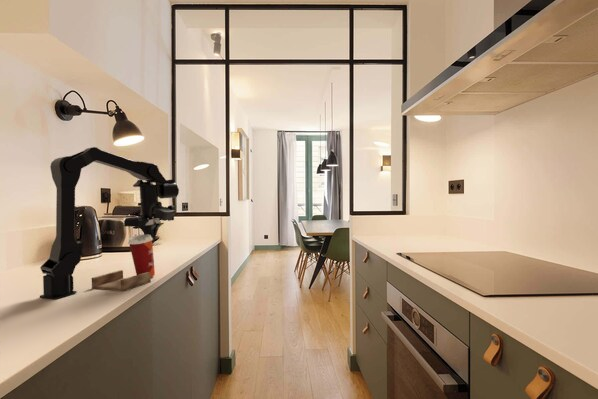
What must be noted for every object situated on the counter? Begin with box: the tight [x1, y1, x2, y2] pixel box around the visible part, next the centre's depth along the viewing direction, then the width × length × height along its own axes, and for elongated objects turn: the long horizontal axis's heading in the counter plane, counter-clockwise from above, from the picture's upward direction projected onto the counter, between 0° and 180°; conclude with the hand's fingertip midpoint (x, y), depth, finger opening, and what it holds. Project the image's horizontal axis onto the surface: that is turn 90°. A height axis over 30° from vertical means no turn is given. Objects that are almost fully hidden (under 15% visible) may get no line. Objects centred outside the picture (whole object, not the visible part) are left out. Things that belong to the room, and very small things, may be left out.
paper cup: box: [127, 233, 156, 279], centre depth 119 cm, size 8×8×14 cm
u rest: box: [91, 269, 151, 292], centre depth 110 cm, size 11×12×3 cm
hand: (152, 243), depth 123 cm, fingers closed
